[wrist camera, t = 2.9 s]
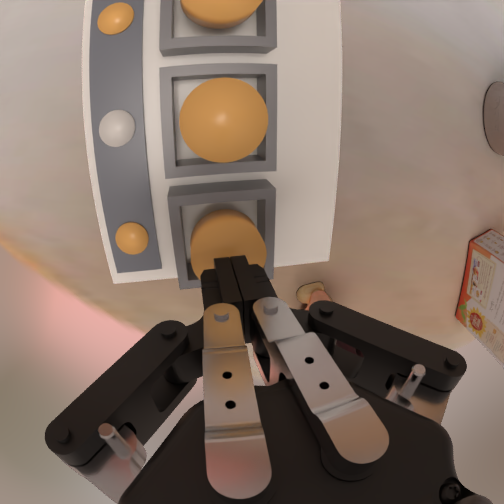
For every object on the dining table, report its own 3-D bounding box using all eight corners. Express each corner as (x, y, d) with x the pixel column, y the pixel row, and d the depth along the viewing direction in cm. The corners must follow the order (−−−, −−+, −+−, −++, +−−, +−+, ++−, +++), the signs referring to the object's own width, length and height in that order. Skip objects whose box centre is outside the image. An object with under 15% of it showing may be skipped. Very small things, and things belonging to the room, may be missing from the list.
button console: (321, -7, 15) (354, -29, 10) (314, 243, 25) (341, 275, 20) (99, -3, 12) (76, -28, 7) (120, 262, 22) (107, 302, 17)
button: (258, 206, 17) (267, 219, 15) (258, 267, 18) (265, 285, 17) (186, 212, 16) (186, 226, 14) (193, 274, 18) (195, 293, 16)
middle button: (258, 81, 13) (268, 77, 12) (258, 153, 15) (268, 160, 13) (179, 83, 13) (177, 80, 11) (182, 158, 14) (181, 166, 13)
